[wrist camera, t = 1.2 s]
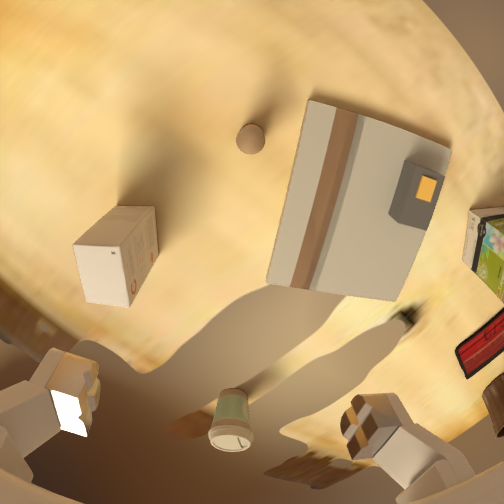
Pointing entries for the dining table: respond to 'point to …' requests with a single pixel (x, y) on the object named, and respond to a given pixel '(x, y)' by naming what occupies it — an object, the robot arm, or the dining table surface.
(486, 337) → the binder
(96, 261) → the small box
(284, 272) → the floor panel
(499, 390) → the plant pot
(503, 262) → the tea box
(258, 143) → the peg
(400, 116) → the dining table surface
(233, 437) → the coffee cup
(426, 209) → the grey rectangular block
